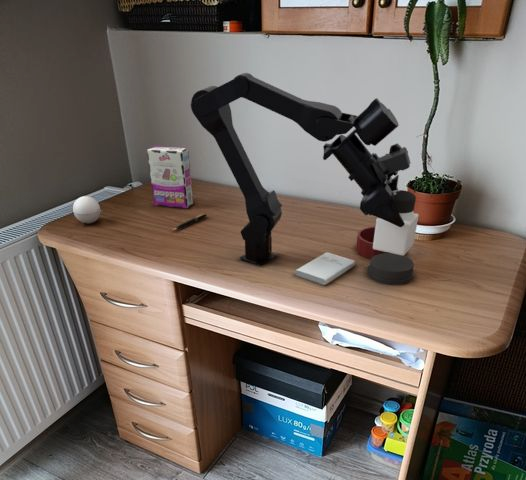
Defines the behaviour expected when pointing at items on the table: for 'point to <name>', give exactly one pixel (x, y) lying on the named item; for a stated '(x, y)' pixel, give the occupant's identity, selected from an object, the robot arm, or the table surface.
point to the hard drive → (325, 268)
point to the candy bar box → (170, 176)
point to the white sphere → (86, 209)
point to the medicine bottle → (392, 235)
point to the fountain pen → (191, 221)
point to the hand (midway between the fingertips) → (404, 218)
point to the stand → (391, 269)
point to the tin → (367, 243)
